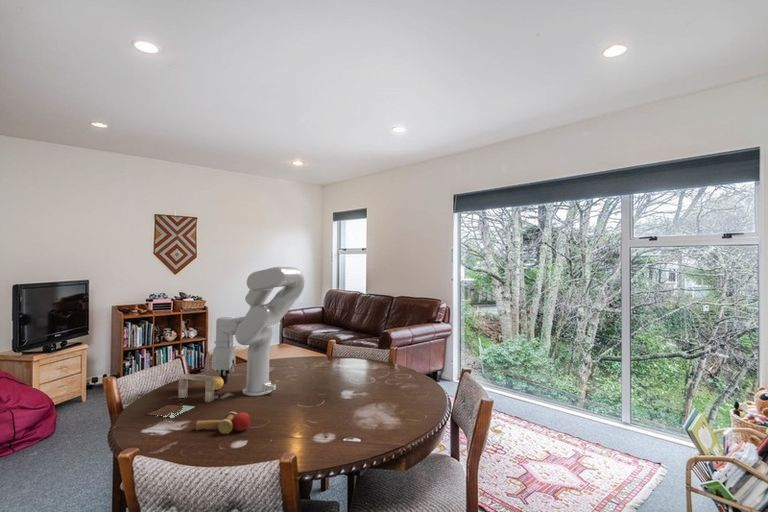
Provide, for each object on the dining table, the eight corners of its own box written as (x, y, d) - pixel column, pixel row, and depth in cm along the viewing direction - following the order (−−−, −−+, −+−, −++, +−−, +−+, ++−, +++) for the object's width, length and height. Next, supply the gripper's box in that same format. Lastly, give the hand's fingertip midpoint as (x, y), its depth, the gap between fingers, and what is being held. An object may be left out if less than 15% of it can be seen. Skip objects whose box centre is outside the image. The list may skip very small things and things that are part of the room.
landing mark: (194, 407, 155) (194, 406, 155) (171, 418, 143) (171, 417, 143) (169, 404, 158) (169, 403, 158) (144, 414, 146) (144, 414, 146)
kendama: (191, 439, 129) (246, 432, 129) (191, 419, 130) (245, 412, 131) (202, 434, 137) (254, 427, 137) (202, 414, 138) (253, 408, 138)
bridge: (183, 396, 167) (184, 373, 167) (213, 399, 164) (214, 376, 164) (178, 398, 164) (178, 375, 165) (209, 402, 161) (209, 378, 161)
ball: (228, 381, 181) (222, 373, 177) (221, 392, 176) (216, 384, 172) (216, 381, 182) (211, 373, 179) (210, 392, 177) (204, 384, 174)
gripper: (205, 344, 181) (204, 384, 180) (232, 346, 176) (231, 387, 176) (216, 341, 188) (215, 380, 187) (243, 343, 184) (242, 383, 183)
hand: (223, 383), depth 181 cm, fingers closed
